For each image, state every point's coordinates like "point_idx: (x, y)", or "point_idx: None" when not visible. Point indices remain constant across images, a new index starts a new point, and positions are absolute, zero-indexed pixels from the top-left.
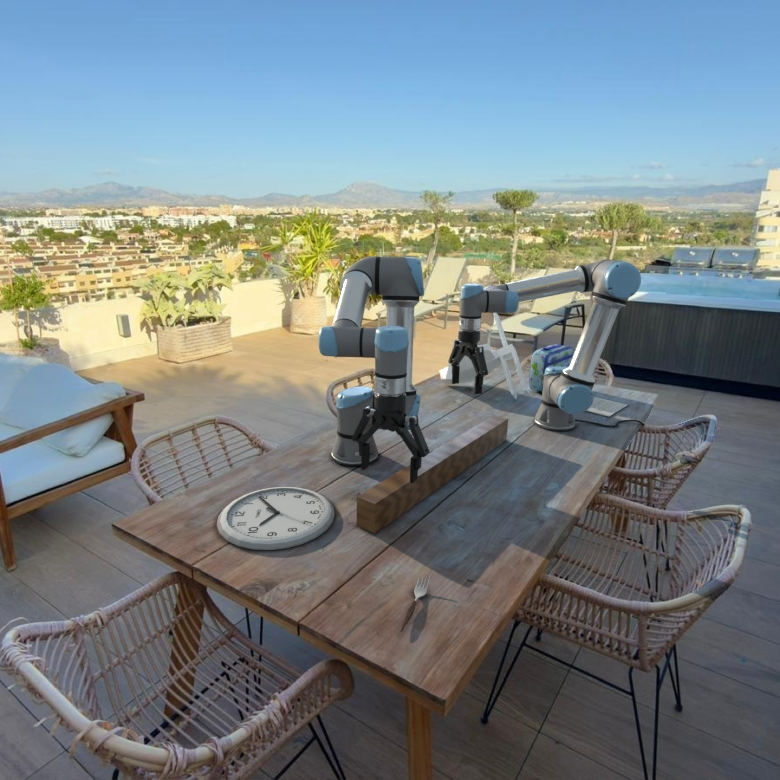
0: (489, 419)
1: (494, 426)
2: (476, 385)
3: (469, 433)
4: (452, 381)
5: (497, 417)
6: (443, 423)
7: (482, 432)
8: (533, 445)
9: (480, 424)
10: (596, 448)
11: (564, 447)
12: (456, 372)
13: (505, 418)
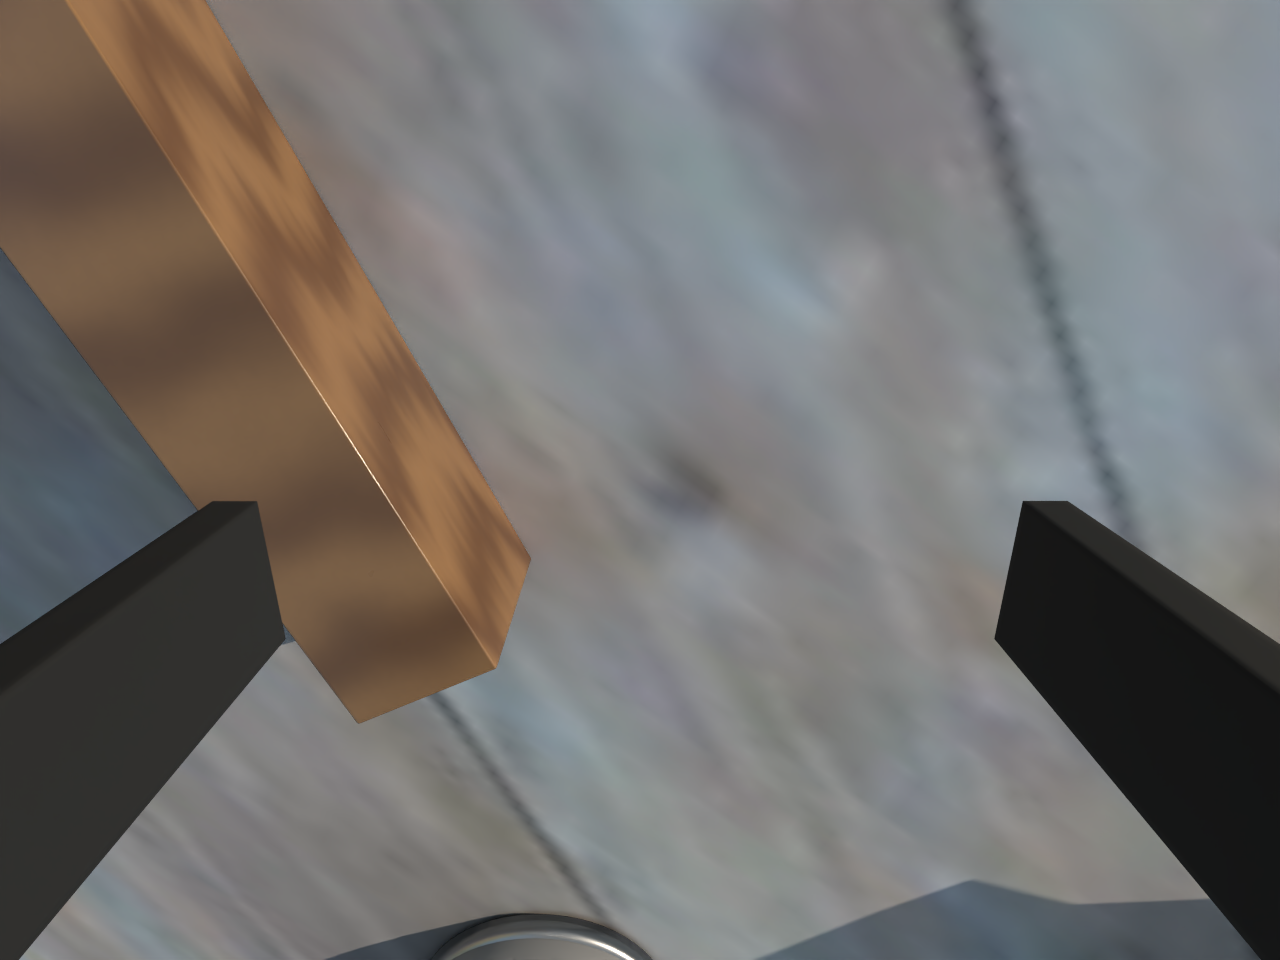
0: (396, 561)
1: (189, 482)
2: (76, 614)
3: (34, 65)
4: (1072, 525)
5: (421, 660)
6: (973, 375)
7: (39, 245)
8: (282, 702)
9: (285, 383)
10: (140, 952)
11: (198, 831)
12: (1184, 748)
13: (368, 705)
